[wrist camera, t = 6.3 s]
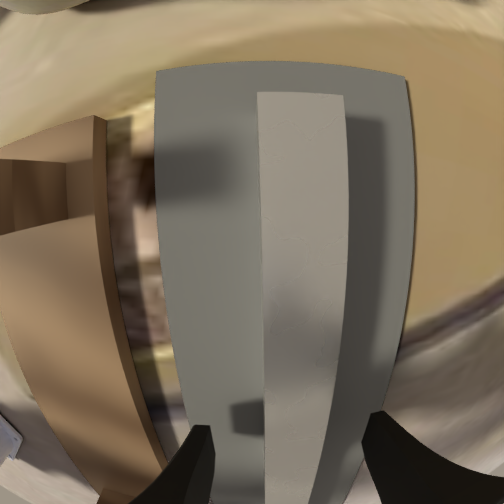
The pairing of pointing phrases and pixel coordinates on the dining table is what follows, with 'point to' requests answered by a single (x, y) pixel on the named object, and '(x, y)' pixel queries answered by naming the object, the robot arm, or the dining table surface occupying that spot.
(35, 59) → the dining table surface
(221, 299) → the mat
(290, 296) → the steel bar
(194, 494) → the robot arm
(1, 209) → the hook stands
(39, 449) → the dining table surface
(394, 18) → the dining table surface
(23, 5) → the teacup
